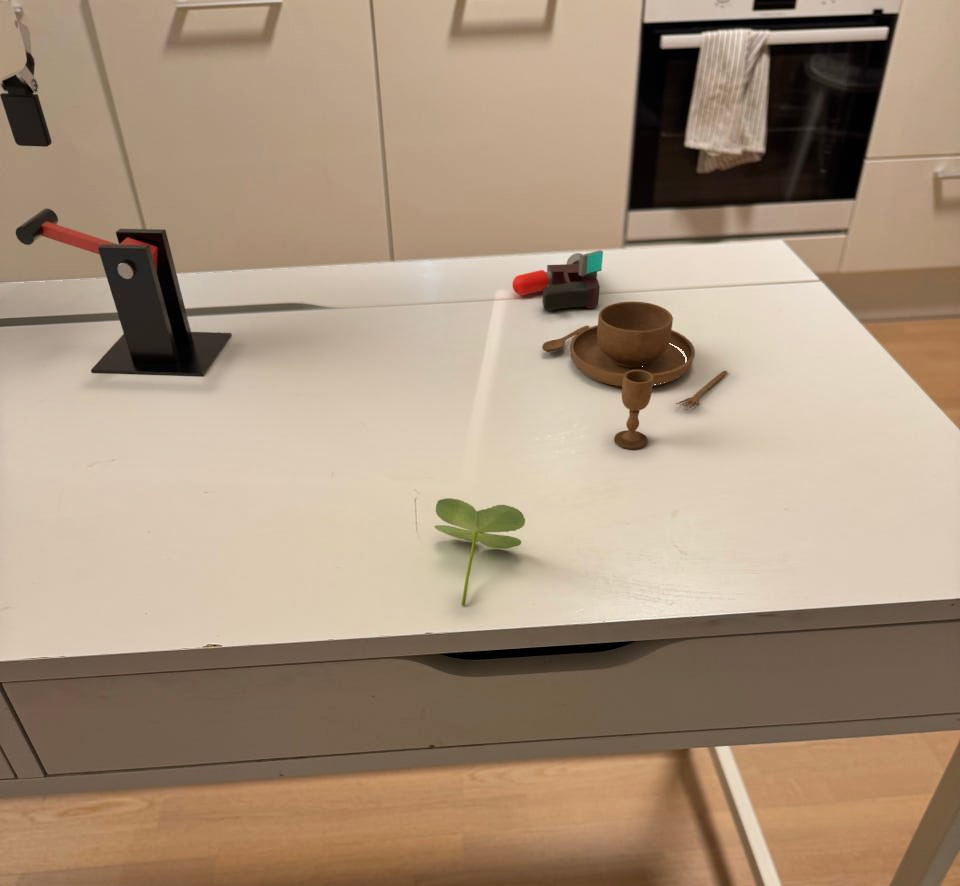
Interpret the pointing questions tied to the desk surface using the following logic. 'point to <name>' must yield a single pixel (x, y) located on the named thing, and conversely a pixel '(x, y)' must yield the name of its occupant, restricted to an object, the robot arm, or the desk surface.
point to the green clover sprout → (479, 526)
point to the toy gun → (565, 282)
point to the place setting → (632, 357)
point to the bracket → (152, 312)
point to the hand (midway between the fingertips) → (8, 160)
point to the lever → (66, 234)
